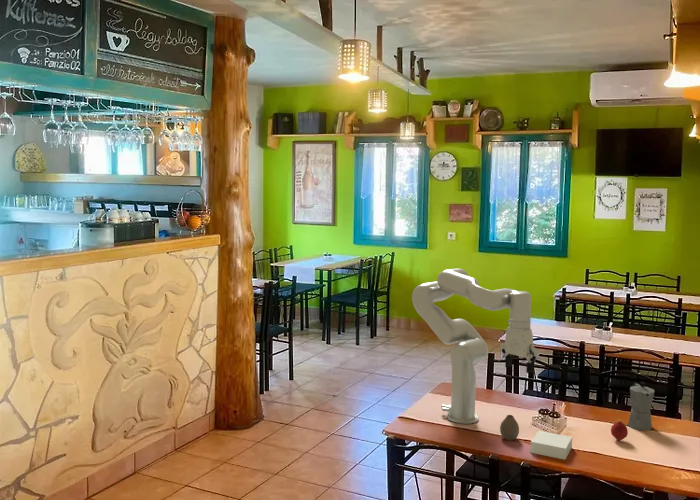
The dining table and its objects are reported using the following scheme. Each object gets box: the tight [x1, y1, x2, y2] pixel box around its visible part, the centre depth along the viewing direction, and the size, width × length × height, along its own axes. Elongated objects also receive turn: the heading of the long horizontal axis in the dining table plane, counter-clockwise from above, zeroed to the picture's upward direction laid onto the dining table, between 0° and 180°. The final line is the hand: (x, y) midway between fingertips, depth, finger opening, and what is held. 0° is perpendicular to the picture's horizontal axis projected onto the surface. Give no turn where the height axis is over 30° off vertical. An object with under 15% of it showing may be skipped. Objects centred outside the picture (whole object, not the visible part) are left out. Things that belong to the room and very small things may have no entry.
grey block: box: [529, 430, 573, 460], centre depth 239 cm, size 12×12×4 cm
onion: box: [610, 419, 629, 442], centre depth 248 cm, size 6×6×8 cm
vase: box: [499, 414, 520, 442], centre depth 249 cm, size 7×7×9 cm
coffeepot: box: [627, 381, 655, 432], centre depth 264 cm, size 15×9×18 cm, turn 176°
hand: (519, 369), depth 250 cm, fingers open, 9 cm apart
